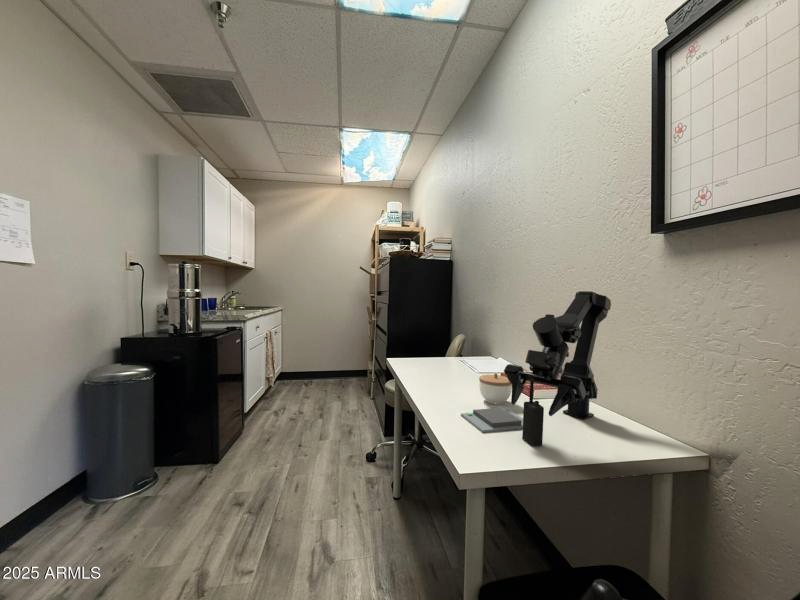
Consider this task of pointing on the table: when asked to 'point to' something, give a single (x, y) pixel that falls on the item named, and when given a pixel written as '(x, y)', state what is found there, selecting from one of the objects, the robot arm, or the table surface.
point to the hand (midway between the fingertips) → (530, 409)
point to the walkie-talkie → (533, 420)
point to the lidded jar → (495, 388)
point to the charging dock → (493, 420)
